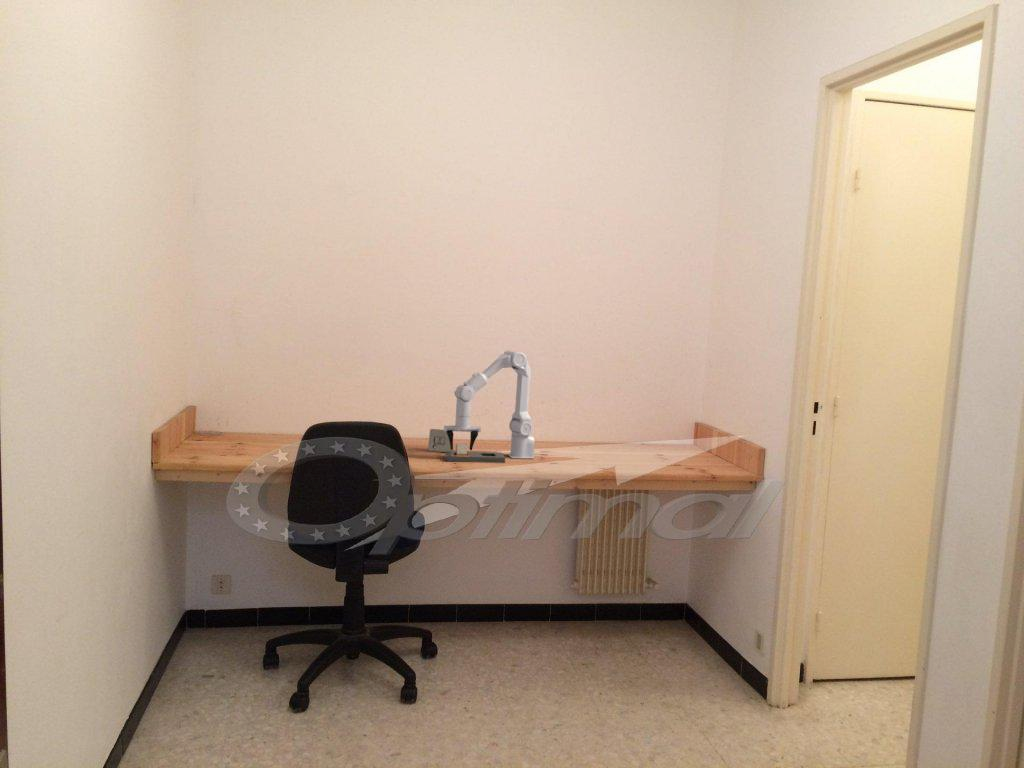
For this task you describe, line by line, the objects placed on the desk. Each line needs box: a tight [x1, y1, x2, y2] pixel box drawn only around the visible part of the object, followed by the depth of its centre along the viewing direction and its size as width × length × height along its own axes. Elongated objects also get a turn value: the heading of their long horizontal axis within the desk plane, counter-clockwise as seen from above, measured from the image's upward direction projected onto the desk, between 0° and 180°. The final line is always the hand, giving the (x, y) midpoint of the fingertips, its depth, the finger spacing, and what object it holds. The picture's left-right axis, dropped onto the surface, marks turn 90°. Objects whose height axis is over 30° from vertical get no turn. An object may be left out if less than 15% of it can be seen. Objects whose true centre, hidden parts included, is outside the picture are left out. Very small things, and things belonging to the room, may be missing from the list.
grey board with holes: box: [444, 451, 506, 464], centre depth 315 cm, size 23×10×2 cm, turn 101°
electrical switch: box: [427, 428, 452, 453], centre depth 328 cm, size 9×5×9 cm, turn 85°
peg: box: [455, 443, 468, 455], centre depth 314 cm, size 4×4×6 cm
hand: (461, 449), depth 314 cm, fingers open, 7 cm apart
